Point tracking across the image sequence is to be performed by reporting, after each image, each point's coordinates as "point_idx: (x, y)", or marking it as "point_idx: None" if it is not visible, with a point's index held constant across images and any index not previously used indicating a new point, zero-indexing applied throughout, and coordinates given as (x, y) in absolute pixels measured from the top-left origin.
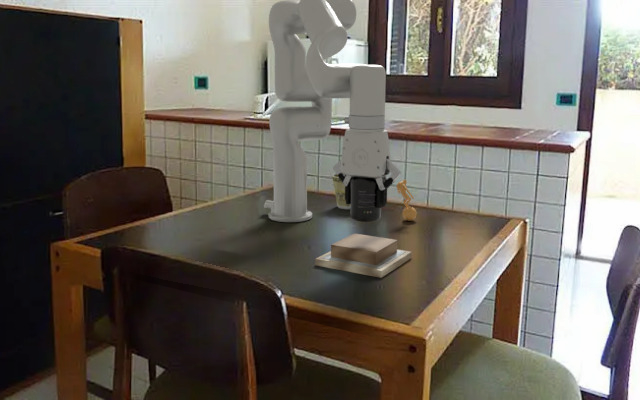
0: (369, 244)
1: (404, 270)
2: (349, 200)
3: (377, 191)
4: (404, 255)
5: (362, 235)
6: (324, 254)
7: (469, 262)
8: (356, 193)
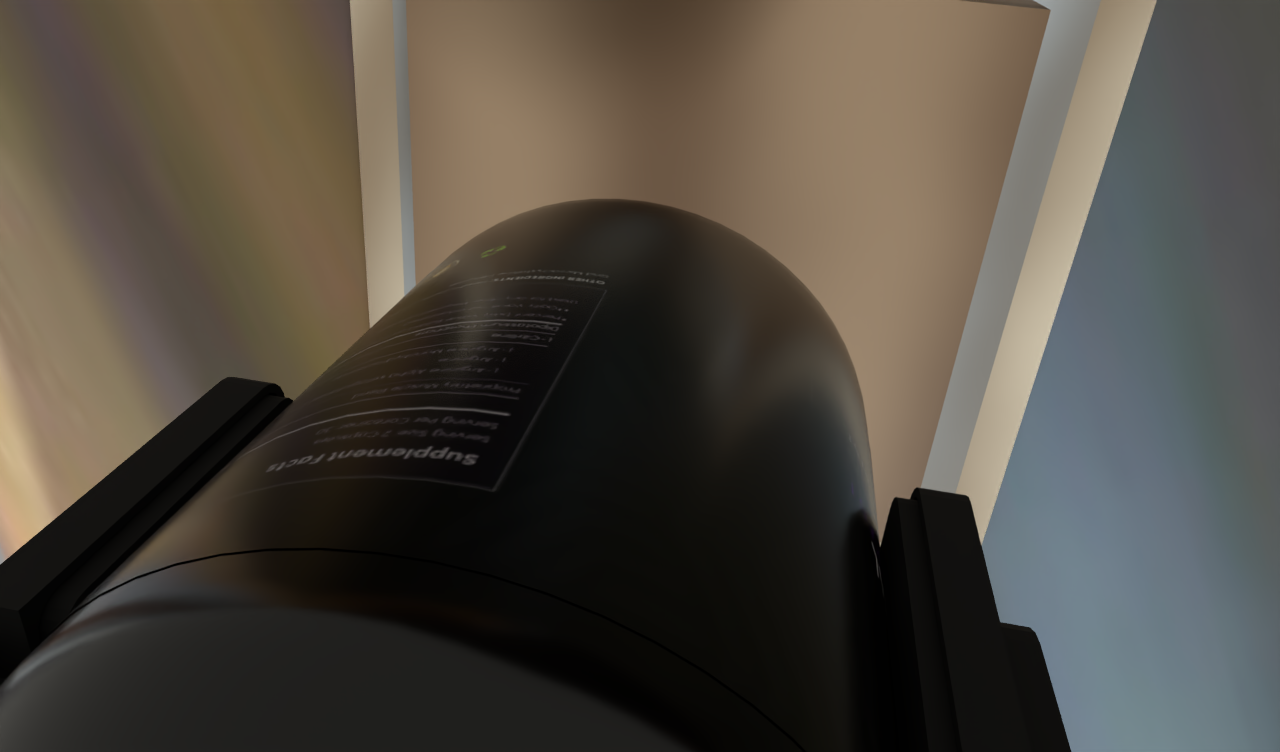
0: None
1: (303, 116)
2: (897, 546)
3: (43, 583)
4: None
5: None
6: (1126, 76)
7: (41, 477)
8: (581, 440)
